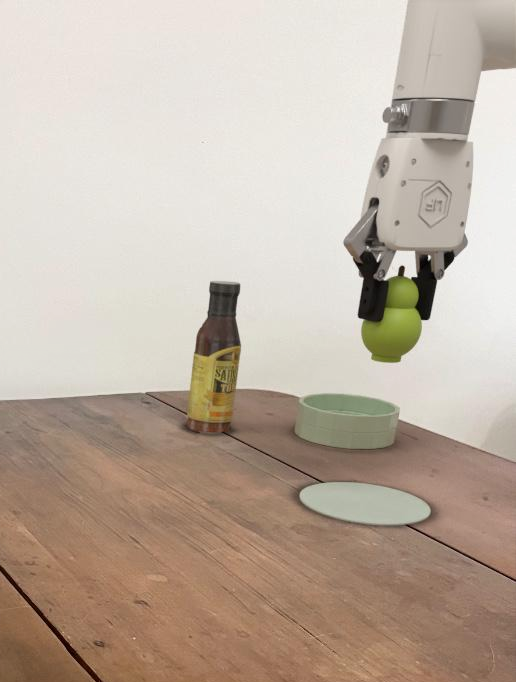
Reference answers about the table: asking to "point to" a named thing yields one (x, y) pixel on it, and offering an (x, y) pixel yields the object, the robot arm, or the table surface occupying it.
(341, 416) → the bowl
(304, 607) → the table surface
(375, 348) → the pear
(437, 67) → the robot arm
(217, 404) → the sauce bottle
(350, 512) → the mat
